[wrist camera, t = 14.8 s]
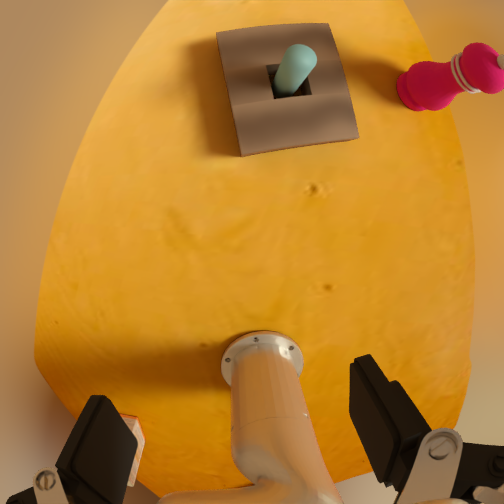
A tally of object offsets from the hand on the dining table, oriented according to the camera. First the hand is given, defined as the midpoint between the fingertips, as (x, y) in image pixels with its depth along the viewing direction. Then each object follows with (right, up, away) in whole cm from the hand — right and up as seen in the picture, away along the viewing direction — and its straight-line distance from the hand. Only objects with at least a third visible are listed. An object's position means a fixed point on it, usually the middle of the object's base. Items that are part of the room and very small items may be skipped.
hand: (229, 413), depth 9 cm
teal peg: (+5, +26, +22) cm, 35 cm away
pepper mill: (+25, +30, +23) cm, 45 cm away
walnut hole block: (+5, +26, +22) cm, 35 cm away
